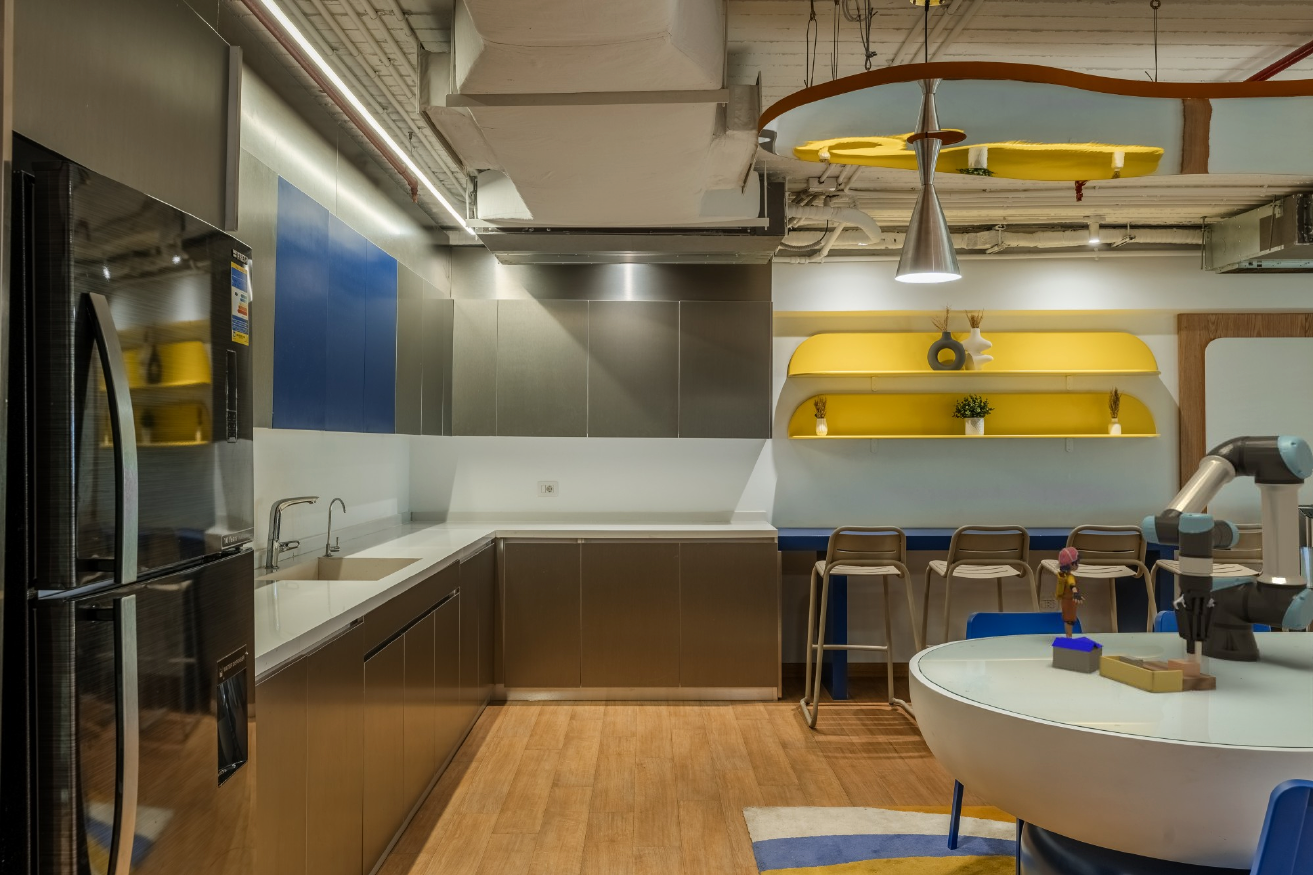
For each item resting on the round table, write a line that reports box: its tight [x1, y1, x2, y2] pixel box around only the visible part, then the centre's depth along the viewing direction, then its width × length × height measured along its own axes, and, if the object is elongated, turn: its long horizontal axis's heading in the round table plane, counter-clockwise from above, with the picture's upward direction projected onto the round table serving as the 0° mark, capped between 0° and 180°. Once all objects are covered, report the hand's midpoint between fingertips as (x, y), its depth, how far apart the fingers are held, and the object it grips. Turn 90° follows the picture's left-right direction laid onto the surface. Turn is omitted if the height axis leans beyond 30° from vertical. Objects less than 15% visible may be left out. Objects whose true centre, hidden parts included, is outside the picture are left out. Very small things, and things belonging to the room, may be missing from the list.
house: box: [1051, 636, 1104, 675], centre depth 246 cm, size 10×11×8 cm
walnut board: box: [1143, 660, 1217, 692], centre depth 232 cm, size 10×18×3 cm, turn 14°
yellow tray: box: [1098, 654, 1183, 694], centre depth 230 cm, size 9×18×5 cm, turn 14°
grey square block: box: [1119, 654, 1144, 668], centre depth 234 cm, size 5×5×3 cm
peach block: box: [1167, 658, 1201, 676], centre depth 228 cm, size 5×5×3 cm
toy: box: [1053, 546, 1086, 639], centre depth 277 cm, size 24×7×30 cm, turn 168°
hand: (1194, 666), depth 229 cm, fingers closed
